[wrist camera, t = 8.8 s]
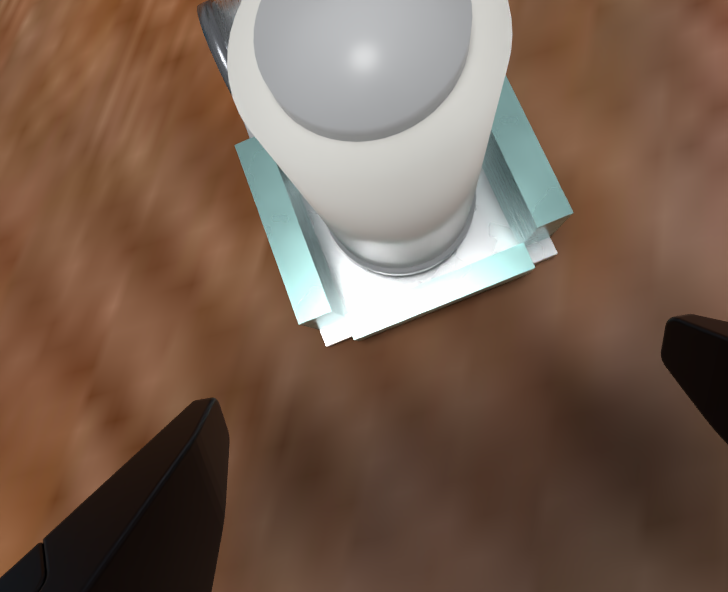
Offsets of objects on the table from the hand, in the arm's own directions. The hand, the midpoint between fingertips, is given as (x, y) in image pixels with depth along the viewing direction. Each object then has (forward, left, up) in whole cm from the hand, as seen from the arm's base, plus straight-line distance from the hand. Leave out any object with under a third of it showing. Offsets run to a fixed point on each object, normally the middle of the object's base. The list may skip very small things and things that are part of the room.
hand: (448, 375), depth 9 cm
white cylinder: (+5, -4, -9) cm, 11 cm away
